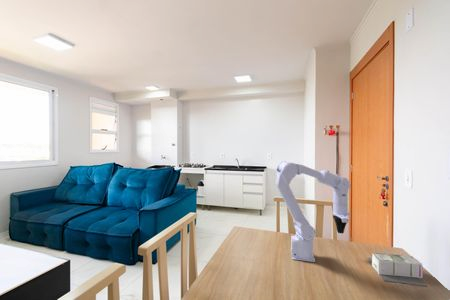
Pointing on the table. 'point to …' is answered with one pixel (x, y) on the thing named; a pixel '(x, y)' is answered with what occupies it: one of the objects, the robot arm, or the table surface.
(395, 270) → the syrup box
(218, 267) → the table surface
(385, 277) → the mat
